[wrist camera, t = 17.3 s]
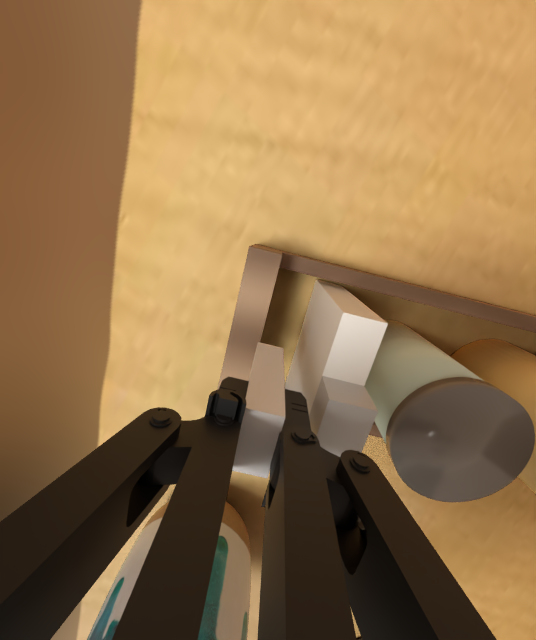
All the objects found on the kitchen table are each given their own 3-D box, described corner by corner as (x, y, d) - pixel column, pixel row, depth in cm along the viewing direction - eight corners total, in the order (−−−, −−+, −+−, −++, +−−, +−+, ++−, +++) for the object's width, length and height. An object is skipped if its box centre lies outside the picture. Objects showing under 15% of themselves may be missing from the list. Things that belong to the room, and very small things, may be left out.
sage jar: (404, 396, 25) (495, 514, 14) (334, 378, 25) (373, 484, 14) (433, 329, 23) (562, 407, 12) (358, 309, 23) (424, 372, 12)
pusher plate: (307, 389, 25) (331, 524, 13) (284, 384, 25) (288, 515, 13) (341, 285, 22) (407, 339, 11) (316, 279, 22) (354, 326, 11)
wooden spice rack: (508, 451, 26) (574, 513, 20) (224, 383, 25) (207, 426, 19) (581, 327, 23) (685, 358, 17) (256, 244, 22) (247, 246, 16)
